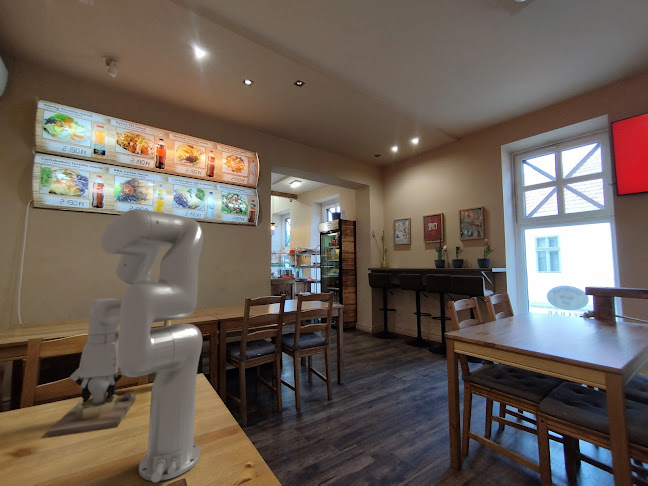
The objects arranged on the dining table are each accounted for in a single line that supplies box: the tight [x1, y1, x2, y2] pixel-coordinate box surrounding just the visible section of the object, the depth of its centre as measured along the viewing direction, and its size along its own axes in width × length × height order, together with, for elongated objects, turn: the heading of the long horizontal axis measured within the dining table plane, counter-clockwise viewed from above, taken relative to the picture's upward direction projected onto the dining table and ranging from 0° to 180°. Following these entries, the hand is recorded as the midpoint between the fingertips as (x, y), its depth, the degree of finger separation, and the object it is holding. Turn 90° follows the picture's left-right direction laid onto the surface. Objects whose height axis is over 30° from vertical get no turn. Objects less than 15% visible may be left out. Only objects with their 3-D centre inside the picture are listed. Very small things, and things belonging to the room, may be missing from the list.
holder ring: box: [75, 393, 120, 420], centre depth 89 cm, size 10×10×3 cm
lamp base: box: [47, 392, 137, 438], centre depth 88 cm, size 18×16×3 cm
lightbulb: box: [88, 376, 111, 406], centre depth 89 cm, size 6×6×11 cm
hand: (98, 397), depth 89 cm, fingers closed on lightbulb, 5 cm apart
